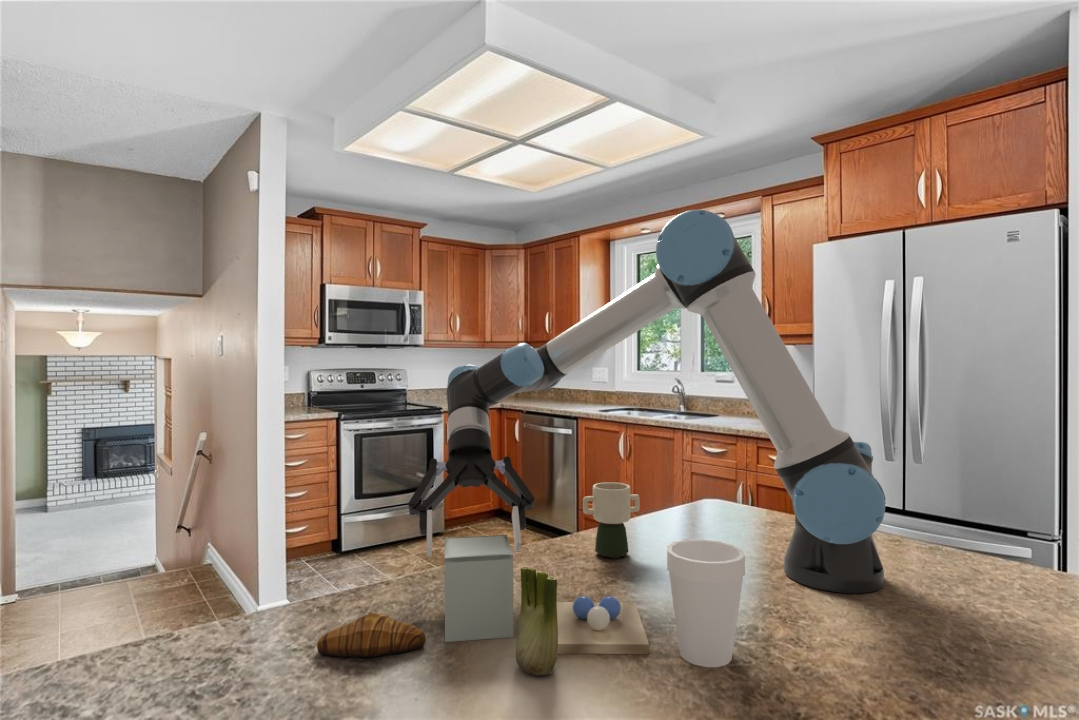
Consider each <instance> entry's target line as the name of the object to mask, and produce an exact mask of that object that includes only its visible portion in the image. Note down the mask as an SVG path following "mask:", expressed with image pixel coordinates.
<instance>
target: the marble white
mask: <svg viewBox="0 0 1079 720" xmlns="http://www.w3.org/2000/svg"><path fill="white" fill-rule="evenodd" d="M587 621H588V624H589V625H590V627H591V628H593V629H594V630H598V631H600V630H604V629H605V628H606V627H607V626H608V625H609V622H610V615H609V613H608V611H607V610H606V609H605V608H604V607H601V606H595V607H593V608H591V609H590V610H589V612H588V615H587Z"/></svg>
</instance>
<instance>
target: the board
mask: <svg viewBox="0 0 1079 720" xmlns="http://www.w3.org/2000/svg"><path fill="white" fill-rule="evenodd" d="M573 603H574V601H572V602H571V601H570V602H568V601H561V602H560V601H557V602H556V604H557V623H558V624H557V625H558V648H557V654H577V655H579V654H585V655H587V654H588V655H591V654H593V655H594V654H596V655H597V654H600V655H601V654H602V655H604V654H606V655H610V654H612V655H614V654H615V655H617V654H618V655H649V654H650V642H649V640H648V637H647V634H646V631H645V628H644V625H643V622H642V619H641V617H640V613H639V611H638V607H637V604H636V602H635V601H634V602H631V601H630V602H626V601H625V602H620V601H619V603H620V606H621V610H620V614H619V615H618V616H617V617H616V618H615V619H610V622H609V625H608V626H607V627H606V628H605V629H604V630H600V631H598V630H594V629H593V628H591V627H590V625H589V624H588V621H587V619H580V618H578V617H577V616H576V615H575V614H574V612H573ZM593 603H594V607H595V606H599V603H600V601H599V602H598V601H595V602H594V601H593Z"/></svg>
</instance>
